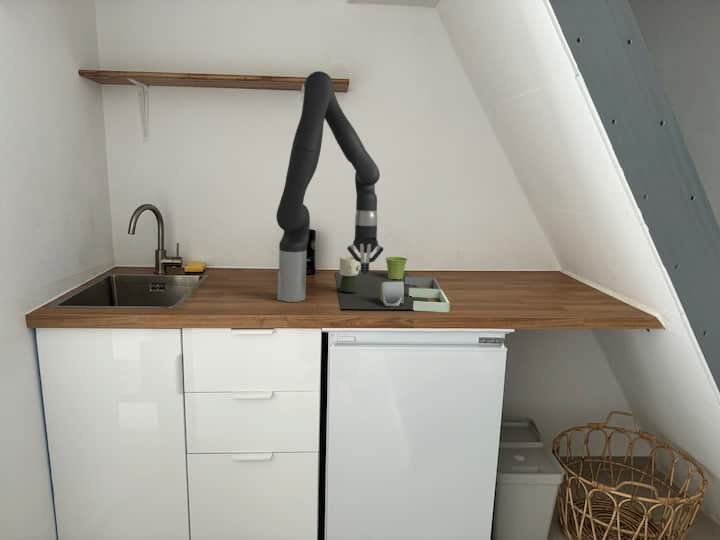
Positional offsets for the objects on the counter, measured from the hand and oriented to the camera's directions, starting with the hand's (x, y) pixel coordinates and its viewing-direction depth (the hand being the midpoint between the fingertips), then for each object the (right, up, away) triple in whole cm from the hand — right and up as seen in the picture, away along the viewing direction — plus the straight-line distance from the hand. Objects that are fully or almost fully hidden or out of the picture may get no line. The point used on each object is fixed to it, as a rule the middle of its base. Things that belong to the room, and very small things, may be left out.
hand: (364, 273), depth 182 cm
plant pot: (+13, -3, +42) cm, 44 cm away
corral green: (+22, -11, +2) cm, 24 cm away
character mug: (-6, -7, +14) cm, 17 cm away
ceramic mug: (+10, -11, +1) cm, 14 cm away
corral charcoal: (+22, -7, +22) cm, 32 cm away
